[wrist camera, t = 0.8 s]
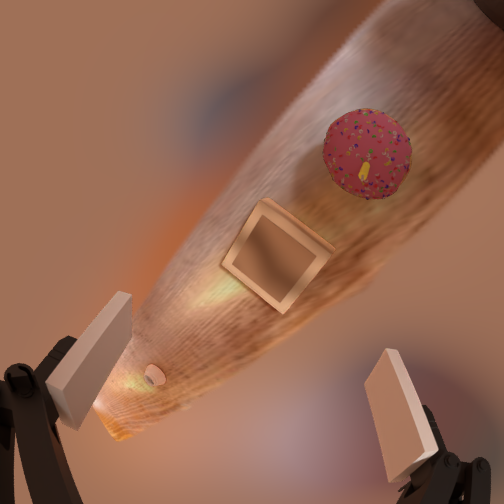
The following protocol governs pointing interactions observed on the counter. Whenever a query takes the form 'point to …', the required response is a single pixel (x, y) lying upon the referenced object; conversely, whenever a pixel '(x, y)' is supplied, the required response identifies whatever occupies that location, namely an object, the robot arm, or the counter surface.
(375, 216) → the counter surface
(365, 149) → the cupcake
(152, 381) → the lidless jar
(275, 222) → the square tray
